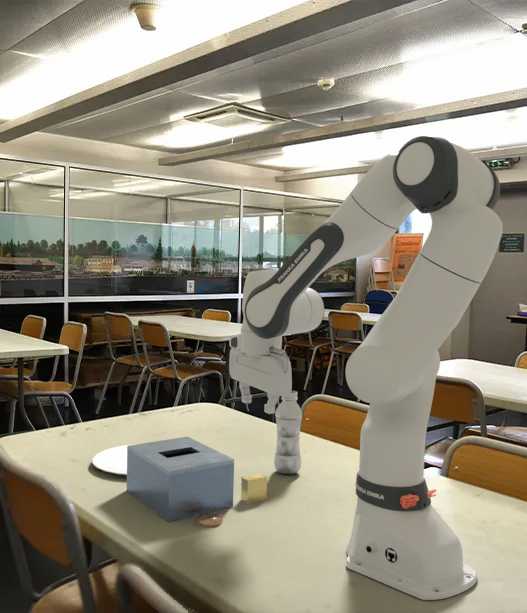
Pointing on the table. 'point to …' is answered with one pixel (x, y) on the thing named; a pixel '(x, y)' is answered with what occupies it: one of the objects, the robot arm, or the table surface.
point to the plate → (112, 460)
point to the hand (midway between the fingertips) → (257, 407)
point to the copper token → (209, 519)
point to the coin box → (180, 477)
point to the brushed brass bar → (254, 488)
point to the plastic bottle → (288, 435)
